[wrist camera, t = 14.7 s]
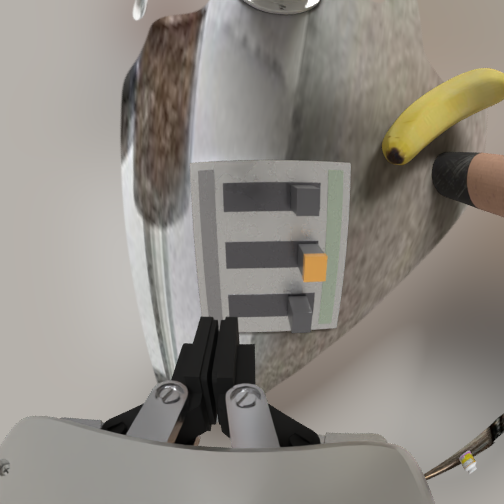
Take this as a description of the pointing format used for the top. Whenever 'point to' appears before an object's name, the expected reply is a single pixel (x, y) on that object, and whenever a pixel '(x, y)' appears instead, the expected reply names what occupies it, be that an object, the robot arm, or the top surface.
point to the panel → (267, 239)
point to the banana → (441, 112)
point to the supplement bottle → (468, 462)
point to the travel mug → (471, 179)
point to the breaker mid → (312, 262)
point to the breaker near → (305, 200)
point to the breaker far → (299, 314)
